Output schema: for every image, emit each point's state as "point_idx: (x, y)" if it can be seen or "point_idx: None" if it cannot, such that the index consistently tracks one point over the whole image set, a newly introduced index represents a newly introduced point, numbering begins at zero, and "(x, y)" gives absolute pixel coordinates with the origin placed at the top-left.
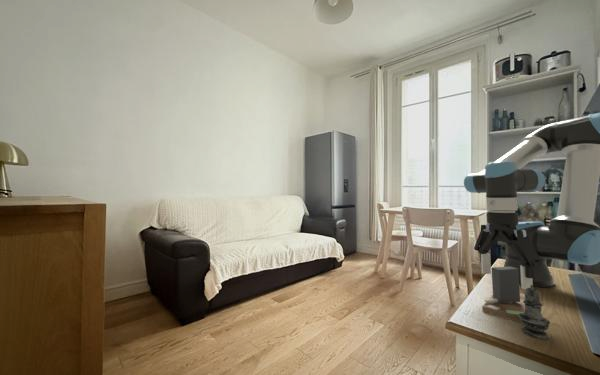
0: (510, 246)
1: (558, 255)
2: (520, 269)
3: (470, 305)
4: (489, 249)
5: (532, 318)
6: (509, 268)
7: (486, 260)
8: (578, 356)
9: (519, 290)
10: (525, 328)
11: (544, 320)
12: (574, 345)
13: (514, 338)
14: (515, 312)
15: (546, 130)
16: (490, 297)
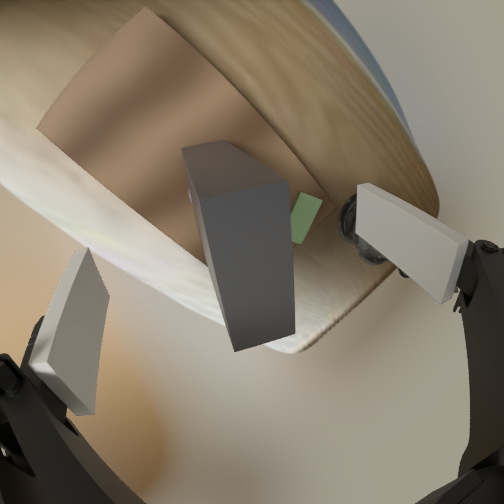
0: (470, 430)
1: None
2: (422, 287)
3: (194, 298)
4: (55, 422)
5: None
6: (270, 251)
7: (81, 344)
8: (425, 201)
9: (237, 148)
10: (352, 232)
11: None
12: (407, 172)
13: (366, 274)
14: (303, 219)
15: None
16: (156, 226)
